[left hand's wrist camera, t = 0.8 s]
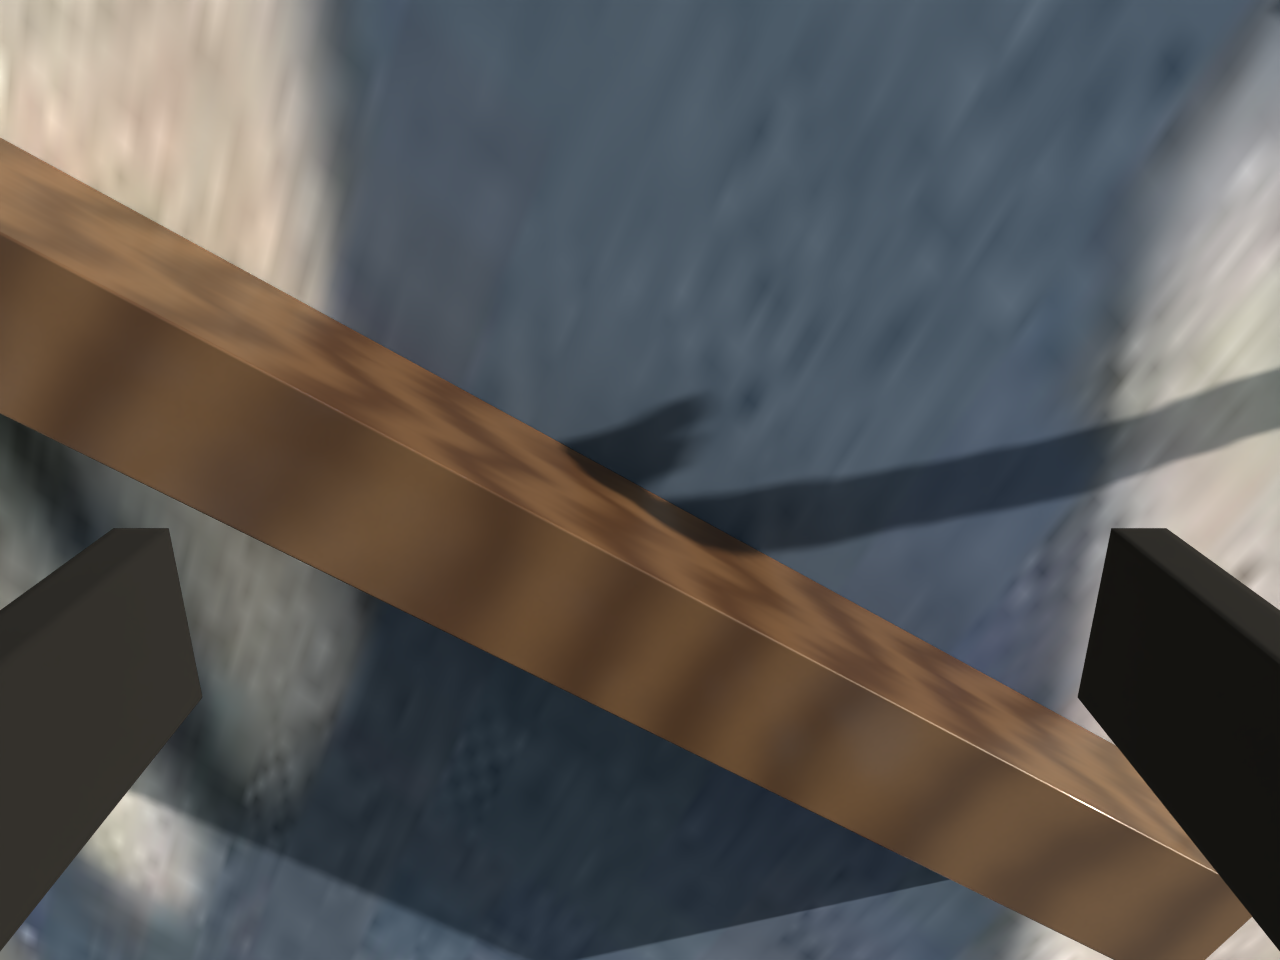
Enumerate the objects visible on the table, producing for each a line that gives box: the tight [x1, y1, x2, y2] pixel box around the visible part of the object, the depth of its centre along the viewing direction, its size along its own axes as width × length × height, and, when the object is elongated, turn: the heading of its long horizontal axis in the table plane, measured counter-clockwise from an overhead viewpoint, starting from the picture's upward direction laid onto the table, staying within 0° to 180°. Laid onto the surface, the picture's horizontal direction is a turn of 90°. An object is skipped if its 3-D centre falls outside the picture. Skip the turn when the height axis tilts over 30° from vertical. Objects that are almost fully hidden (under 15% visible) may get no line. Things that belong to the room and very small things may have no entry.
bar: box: [0, 138, 1252, 960], centre depth 35 cm, size 60×6×8 cm, turn 60°
